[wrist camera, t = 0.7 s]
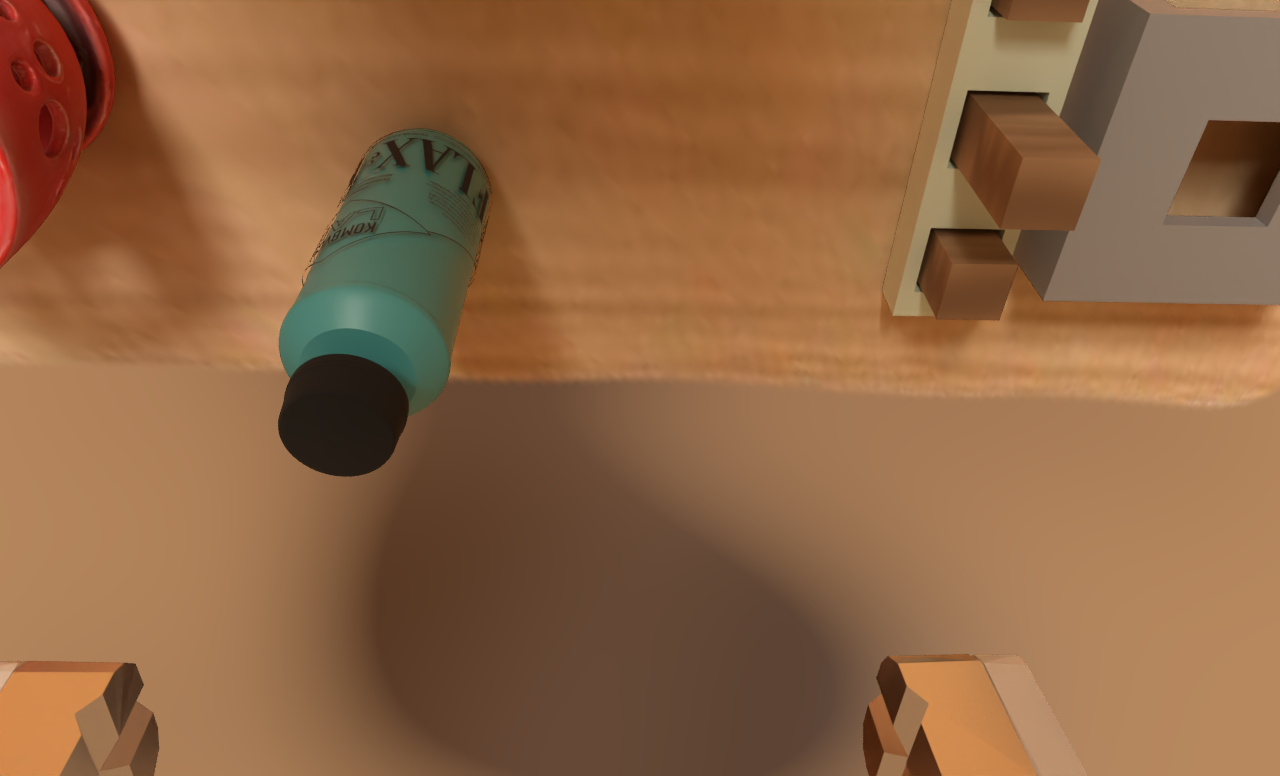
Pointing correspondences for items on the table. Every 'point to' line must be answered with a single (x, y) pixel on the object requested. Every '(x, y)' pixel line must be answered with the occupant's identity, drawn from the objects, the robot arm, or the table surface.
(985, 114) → the pin long
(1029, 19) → the pin short
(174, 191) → the table surface
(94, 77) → the plant pot
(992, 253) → the pin medium
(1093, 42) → the hole bridge
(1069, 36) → the peg rack
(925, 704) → the robot arm
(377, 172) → the beverage bottle
